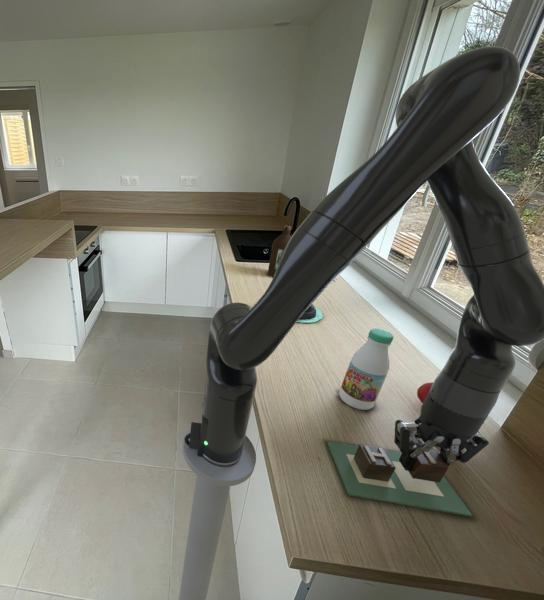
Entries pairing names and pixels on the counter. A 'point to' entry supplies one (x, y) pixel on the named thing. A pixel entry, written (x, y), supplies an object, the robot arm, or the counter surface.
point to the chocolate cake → (311, 315)
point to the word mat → (395, 484)
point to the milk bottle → (367, 371)
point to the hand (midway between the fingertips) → (419, 468)
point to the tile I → (429, 466)
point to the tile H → (374, 463)
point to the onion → (424, 391)
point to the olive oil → (278, 249)
